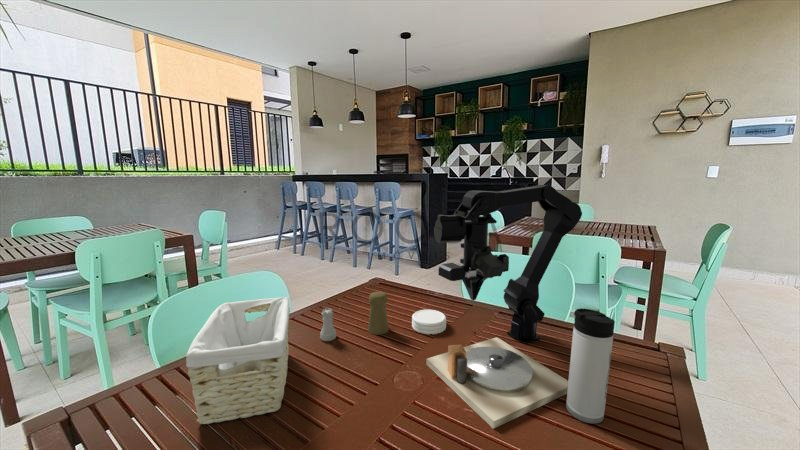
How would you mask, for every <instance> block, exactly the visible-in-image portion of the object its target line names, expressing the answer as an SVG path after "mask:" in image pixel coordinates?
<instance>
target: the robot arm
mask: <svg viewBox="0 0 800 450" xmlns="http://www.w3.org/2000/svg"><path fill="white" fill-rule="evenodd" d="M531 203H538V205H539V207H540V208H541V209H542V210H543V211H545V214H544V216H543V231H542V233H541V234H540V237H539V239H538V240H537V243H536V245H535V247H534V248H533V251H532V253H531V255H530V257H529V259H528V261H527V263H526V265H525V266H524V268H523V271H522V273H521V275H520V276H519V277H517V278H516V279H513V278H510V279H509V280H508V282H507V285H506V287H505V288H504V289H503V292H504V293H503V299H504V303H505V305H506V306H508V309H509V310H510V311H511V312H513V314H512V316H511V322H510V323H511V324H510V330H507V332H506V334H507V335H509V336H510V337H512V338H513V339H516V340H517V341H519V342H521V343H522V344H525V345H526V344H528V343H531V342H535V341H537V340H539V339H541V338H542V337H541V335H539V334H538V333H537V326H538V322H542V321H543V319H544V318H545V317H544V316H545V312H544V311H543V310H542V309H541V308H540V307H539V306H538V301H539V298H540V290H539V289H540V288H539V286H540V283H541V281H542V280H543V279H542V278H543V277H544V275H545V273H546V271H547V270H548V269H547V268H548V267H549V264H550V263H551V261H552V259H553V257H554V256H555V253H556V251H557V249H558V248H559V245H560V243H561V241H562V239H563V238H564V236H566V235H568V233H570V232H571V231H572V230H574V229H575V227H576V225H578V223H579V221H580V220H581V219H582V216H583V212H582V209H581V206H580V205H579V204H578V203H577V202H574V201H573V200H571V199H570V198H568V197H567V196H565V195H563V194H562V193H560V192H559V191H558V190H557V189H556V188H554V187H553V186H552V185H549V184H548V185H547V184H537V185H534V186H528V187H520V188H512V189H507V190H501V191H489V190H475V189H474V190H468V191H467V192H466V193H465V194H464V195H463V197H462V202H461V203H460V204H459V206H458V207H457V209H456V210H455V211H454V213H453V214H451V215H449V214H448V215H446V214H438V215H437V219H436V221H435V223H434V226H433V235H434V240H435V242H436V243H440V244H441V243H460V242H462V240H463V243H460V248H462V249H463V256H462V257H463V258H460V259H459V261H460V262H459V263H460V264H462V265H460V264H457V263H454V262H447V263H442V264H440V265H439V267H438V272H437V273H438V276H440V277H441V278H444V279H446V280H448V281H450V282H456V281H462V282H463V285H464V287H465V289H466V292H467V294H468V296H469V298H470V300H471V301H476V300H477V299H478V295H479V292H480V290H481V288H482V286H483V284H484V282H485V281H486V280H487V279H493V278H494V277H502V275H503V273H505V272H509V269H510V268H509V267H510V266H509V265H510V256H509V255H507V254H506V253H502V254H499V255H498V254H493V253H492V248H491V247H492V246H491V245H488V235H489V231H488V230H489V225H490V224H497V222H498V221H497V219H495V218H494V217H493V216H492V213H495V212H498V211H499V210H501V209H502V208H506V207H510V206H512V207H513V206H518V205H524V204H531Z"/></svg>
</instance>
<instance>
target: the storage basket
mask: <svg viewBox="0 0 800 450" xmlns="http://www.w3.org/2000/svg"><path fill="white" fill-rule="evenodd" d="M289 299H290V298H289V297H287V296H282V297H272V298H271V297H270V298H261V299H251V300H250V299H249V300H241V301H231V302H224V303H222V304H221V305H220V304H219V305H218V306H217V307H216V309H214V311H213V312H212V313H211V315H210V316H209V317H208V318H207V320H206V322H205V323H204V324H203V325H202V327H201V329H200V330H199V331H198V333H197V334H196V336H195V337H194V338H193V340H192V342H191V344H190V346H189V347H188V351H187V352H186V356H185V357H186V359H185V363H186V364H185V367H187V369H188V370H187V372H188V373H187V375H188V377H189V380H190V384H191V387H192V396H193V398H194V406H195V409H196V410H195V411H196V416H197V419H196V420H195V421H196V422H198V423H199V425H209V424H213V423H221V422H225V421H233V420H237V419H247V418H250V417H253V416H261V415H264V414H267V413H269V414H270V413H274V412H275V413H276V412H277V411H279V410H280V409H281V408H282V407H281V406H282V400H283V398H284V395H285V385H286V384H287V376H288V375H287V374H288V361H289V337H288V336H289V323H290V300H289ZM259 312H262V313H263V312H266V314H264V315H262V316H259V317H258V318H255V319H252V320H250V321H247V320H246V319H247V318H246V313H248V314H251V313H259Z"/></svg>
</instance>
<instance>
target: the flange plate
mask: <svg viewBox="0 0 800 450" xmlns="http://www.w3.org/2000/svg"><path fill="white" fill-rule="evenodd" d="M463 347H464V346H463V345H462V343H461V344H449V345H448V346H447V348H448V349H447V352H448V371H449V373H450V376H451V378H454V377H457V358H458V357H465V358H467V378H468V379H469V380H470V381H472V382H473V383H475V384H477V385H479V386H481V387H483V388H486V389H489V390H493V391H499V392H514V391H519V390H522V389H524V388H526V387H527V386H528V385H529V384H530V383H531V381H532V374H533V371H532V367H531V366H530V364H529V363H528V362H527V361H526V360H525V359H524V358H523V357H521V356H520V355H518V354H516V353H514V352H512V351H509V350H506V349H503V348H498V347H487V346H486V347H477V348H473V349H470V350H468V351H467V352H466V351H465V349H464V348H463Z"/></svg>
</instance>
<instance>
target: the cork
mask: <svg viewBox="0 0 800 450" xmlns="http://www.w3.org/2000/svg"><path fill="white" fill-rule="evenodd" d="M368 302H369V304H370V309H369V315H368V317H369V318H368V325H367V333H369V334H371V335H374V336H379V335H385V334H387V333H388V332H389V329H390V327H389V320H388V313H387V307H386V304H387V303H388V296H387V294H386V293H385V292H383V291H374V292H371V293H370V294H369V296H368Z"/></svg>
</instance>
